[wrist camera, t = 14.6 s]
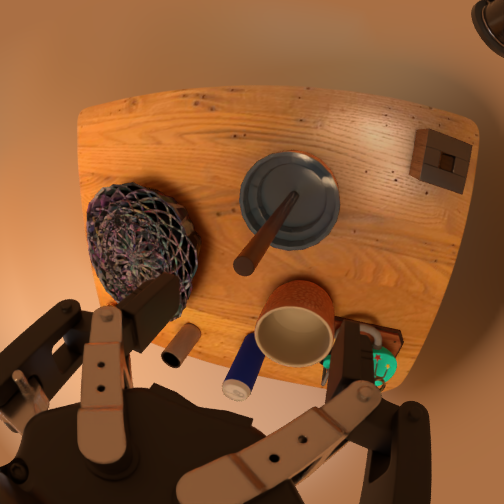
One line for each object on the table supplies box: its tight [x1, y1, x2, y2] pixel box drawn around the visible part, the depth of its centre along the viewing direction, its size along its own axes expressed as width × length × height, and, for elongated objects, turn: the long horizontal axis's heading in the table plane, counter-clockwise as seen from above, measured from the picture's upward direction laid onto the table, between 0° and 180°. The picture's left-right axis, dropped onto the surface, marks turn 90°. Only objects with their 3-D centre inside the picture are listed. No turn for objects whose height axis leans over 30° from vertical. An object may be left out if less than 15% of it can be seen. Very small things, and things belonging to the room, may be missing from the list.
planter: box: [255, 280, 334, 367], centre depth 47 cm, size 12×12×11 cm
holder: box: [409, 129, 472, 194], centre depth 33 cm, size 7×7×6 cm
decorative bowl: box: [87, 182, 201, 321], centre depth 52 cm, size 26×28×10 cm
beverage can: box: [222, 333, 265, 401], centre depth 51 cm, size 5×5×15 cm
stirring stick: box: [233, 191, 299, 276], centre depth 32 cm, size 2×2×26 cm
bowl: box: [239, 150, 340, 251], centre depth 42 cm, size 14×14×6 cm
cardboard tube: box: [161, 323, 201, 368], centre depth 58 cm, size 4×4×10 cm
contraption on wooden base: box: [319, 316, 404, 392], centre depth 45 cm, size 14×18×15 cm
